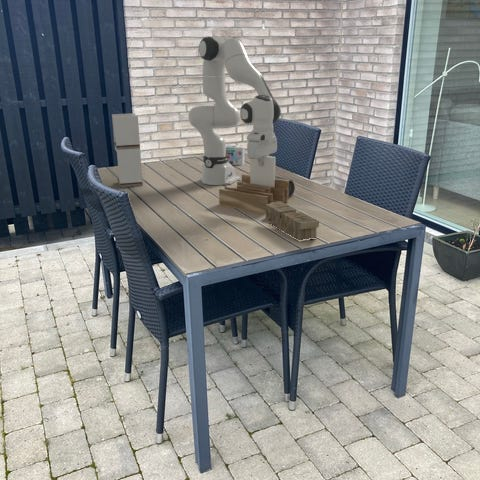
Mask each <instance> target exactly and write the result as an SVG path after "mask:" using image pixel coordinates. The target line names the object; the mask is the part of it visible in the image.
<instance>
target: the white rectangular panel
mask: <svg viewBox="0 0 480 480" xmlns="http://www.w3.org/2000/svg"><path fill="white" fill-rule="evenodd" d="M249 159H250V158H249ZM262 162H264V164H263V166H261V167H260V166H258V160H257V159H250V162H249V165H250V166H249V169H250V170H249V171H250V172H249V173H250V174H249V175H250V184H256V185H263V186H269V187H275V176H276V164H277V163H276V156H271V155H269V156H263V159H262Z"/></svg>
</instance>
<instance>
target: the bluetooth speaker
mask: <svg viewBox="0 0 480 480" xmlns="http://www.w3.org/2000/svg"><path fill="white" fill-rule="evenodd" d="M275 178H276V179H282V180H289V196H288V198H290V197H292V196H293V195H294V193H295V189H296V185H295V183H294V181H293V180H292V179H289V178H286V177H282V176H278V175H275Z"/></svg>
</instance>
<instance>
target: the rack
mask: <svg viewBox="0 0 480 480" xmlns="http://www.w3.org/2000/svg"><path fill="white" fill-rule="evenodd" d="M289 180H290V179H289ZM289 180H282V179H276V178H275V187H270V188H271V193H273V194H269V193H262V192H256V191H250V190H244V189H238V188H237V186H238V185H241V184H244V183H246V184H250V174H246V173H241V181H236V187H232V186H224V188H219V189H218V196H219V197H218V198H219V199H218V202H219V203H218V206H222V207H228V208H233V209H238V210H244V211H249V212H255V213H258V214H264V215H266V204H270V203H272V202H279V201H281V202H282V203H285V204H288V203H289V197H288V196H289ZM252 185H256V184H252ZM258 186H263V185H258ZM264 187H269V186H264Z"/></svg>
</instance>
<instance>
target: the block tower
mask: <svg viewBox="0 0 480 480" xmlns="http://www.w3.org/2000/svg"><path fill="white" fill-rule="evenodd" d="M265 219H266V220H268V221H270V222H271V223H270V225H271V224H272V225H274V226H275V227H277V228H278V229H280V230H282V231H284V232H285V233H287V234H289V235H291V236H292V237H294V238H296V239H298V240H303V239H309V238H316V239H317V228H319V227H320V220H318V219H316V218H313V217H312V216H309V215H308V214H305V213H304V212H302V211H298V212H297V209H296V208H294V207H291V206H290V205H289V204H288V203H286V204H285V203H282V202H281V201H279V202H272V203H270V204H266V214H265ZM272 225H271V226H272ZM275 227H274V228H275ZM278 229H277V230H278ZM280 230H279V231H280ZM285 233H284V234H285Z"/></svg>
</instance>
